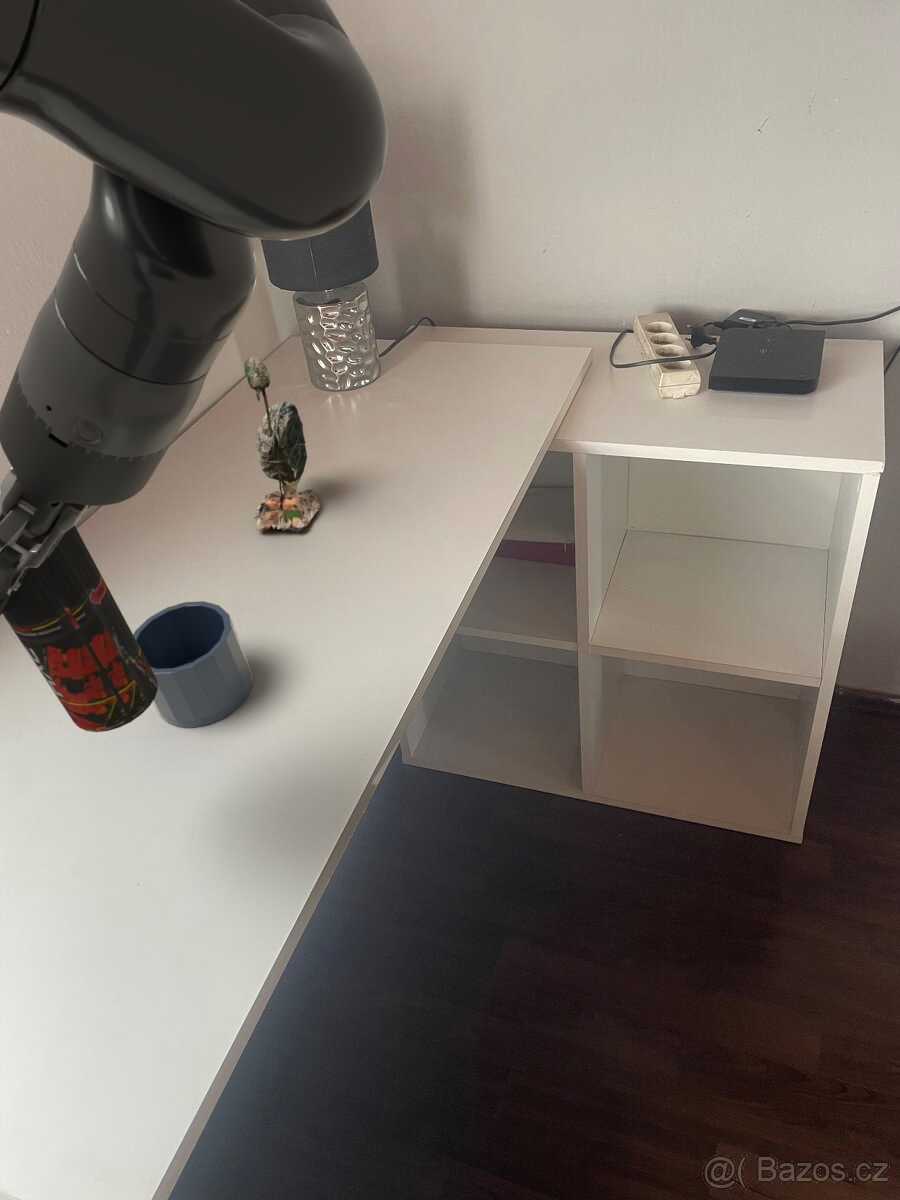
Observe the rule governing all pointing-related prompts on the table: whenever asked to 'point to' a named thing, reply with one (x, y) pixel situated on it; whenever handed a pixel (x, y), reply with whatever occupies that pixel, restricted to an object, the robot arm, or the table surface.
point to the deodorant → (81, 638)
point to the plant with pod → (281, 458)
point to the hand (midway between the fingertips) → (15, 570)
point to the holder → (195, 663)
